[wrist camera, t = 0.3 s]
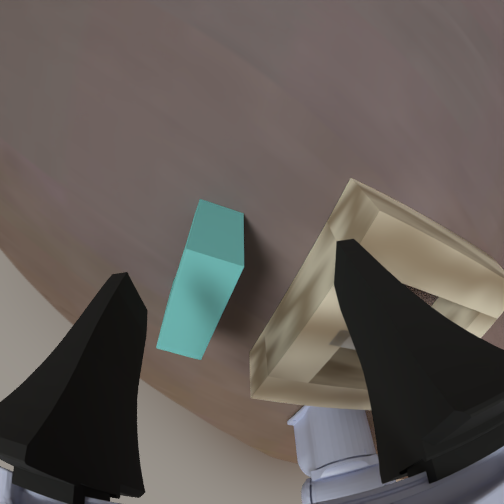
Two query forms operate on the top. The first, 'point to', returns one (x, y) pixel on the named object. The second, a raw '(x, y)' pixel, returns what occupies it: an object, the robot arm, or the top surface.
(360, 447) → the robot arm
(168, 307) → the teal block
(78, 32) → the top surface
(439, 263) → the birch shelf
